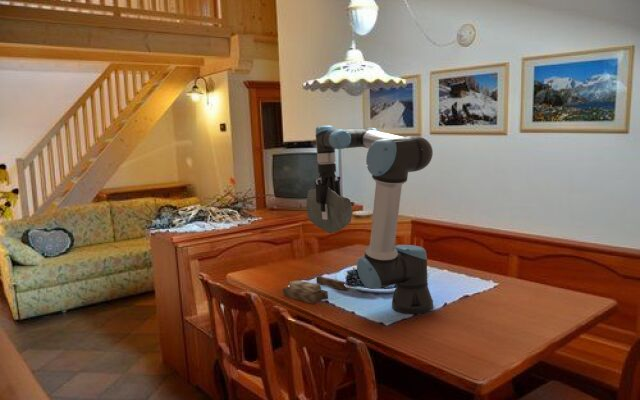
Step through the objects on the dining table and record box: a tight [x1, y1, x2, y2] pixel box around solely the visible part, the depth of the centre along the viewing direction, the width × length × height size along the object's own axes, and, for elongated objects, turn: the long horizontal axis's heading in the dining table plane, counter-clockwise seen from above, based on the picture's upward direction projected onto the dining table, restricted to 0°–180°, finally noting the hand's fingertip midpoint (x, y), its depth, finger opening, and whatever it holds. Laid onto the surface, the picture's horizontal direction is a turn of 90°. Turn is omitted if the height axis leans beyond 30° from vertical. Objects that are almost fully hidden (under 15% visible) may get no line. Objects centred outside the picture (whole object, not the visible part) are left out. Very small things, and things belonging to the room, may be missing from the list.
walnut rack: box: [282, 275, 350, 305], centre depth 204 cm, size 18×21×3 cm
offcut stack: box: [289, 279, 322, 295], centre depth 199 cm, size 14×4×6 cm, turn 51°
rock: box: [306, 187, 354, 234], centre depth 205 cm, size 27×6×20 cm, turn 42°
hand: (330, 217), depth 205 cm, fingers closed on rock, 5 cm apart
